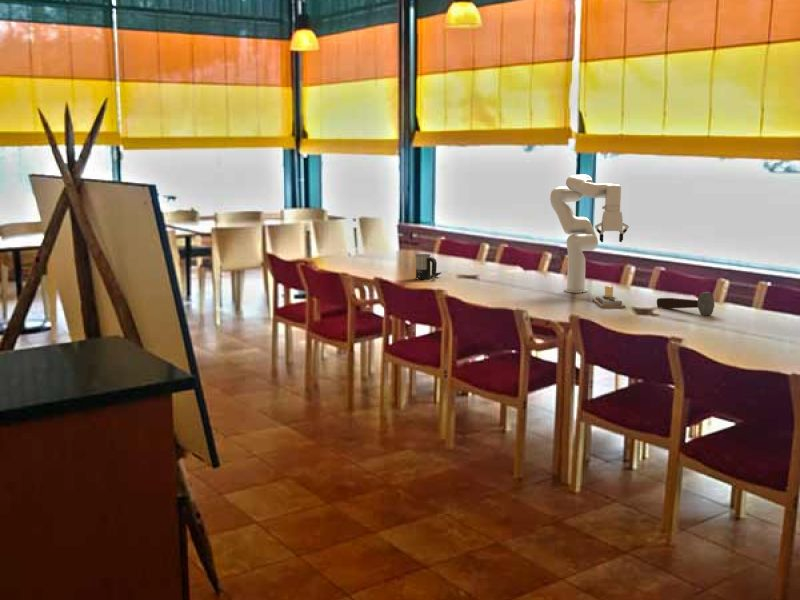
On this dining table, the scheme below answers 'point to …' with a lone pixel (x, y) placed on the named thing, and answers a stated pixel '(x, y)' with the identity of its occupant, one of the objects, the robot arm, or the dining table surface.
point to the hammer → (690, 303)
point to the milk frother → (425, 266)
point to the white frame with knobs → (608, 302)
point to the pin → (608, 292)
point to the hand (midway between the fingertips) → (611, 241)
